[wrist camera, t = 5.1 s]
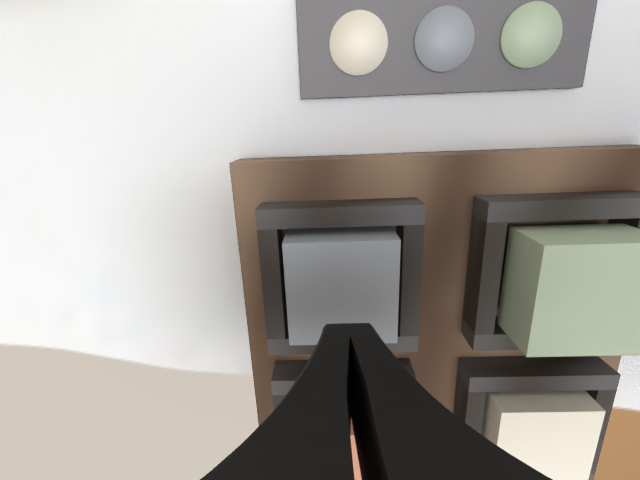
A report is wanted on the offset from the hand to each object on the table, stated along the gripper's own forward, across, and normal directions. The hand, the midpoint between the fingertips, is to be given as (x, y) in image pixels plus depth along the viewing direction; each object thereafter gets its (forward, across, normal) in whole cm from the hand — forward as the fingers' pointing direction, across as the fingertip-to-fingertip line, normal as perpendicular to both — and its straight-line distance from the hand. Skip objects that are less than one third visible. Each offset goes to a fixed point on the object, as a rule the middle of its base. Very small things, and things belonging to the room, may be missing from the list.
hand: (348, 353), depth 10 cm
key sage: (+5, -9, 0) cm, 10 cm away
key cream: (+6, -9, +8) cm, 13 cm away
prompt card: (+8, -4, -10) cm, 13 cm away
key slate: (+6, 0, 0) cm, 6 cm away
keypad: (+8, -4, +4) cm, 10 cm away
